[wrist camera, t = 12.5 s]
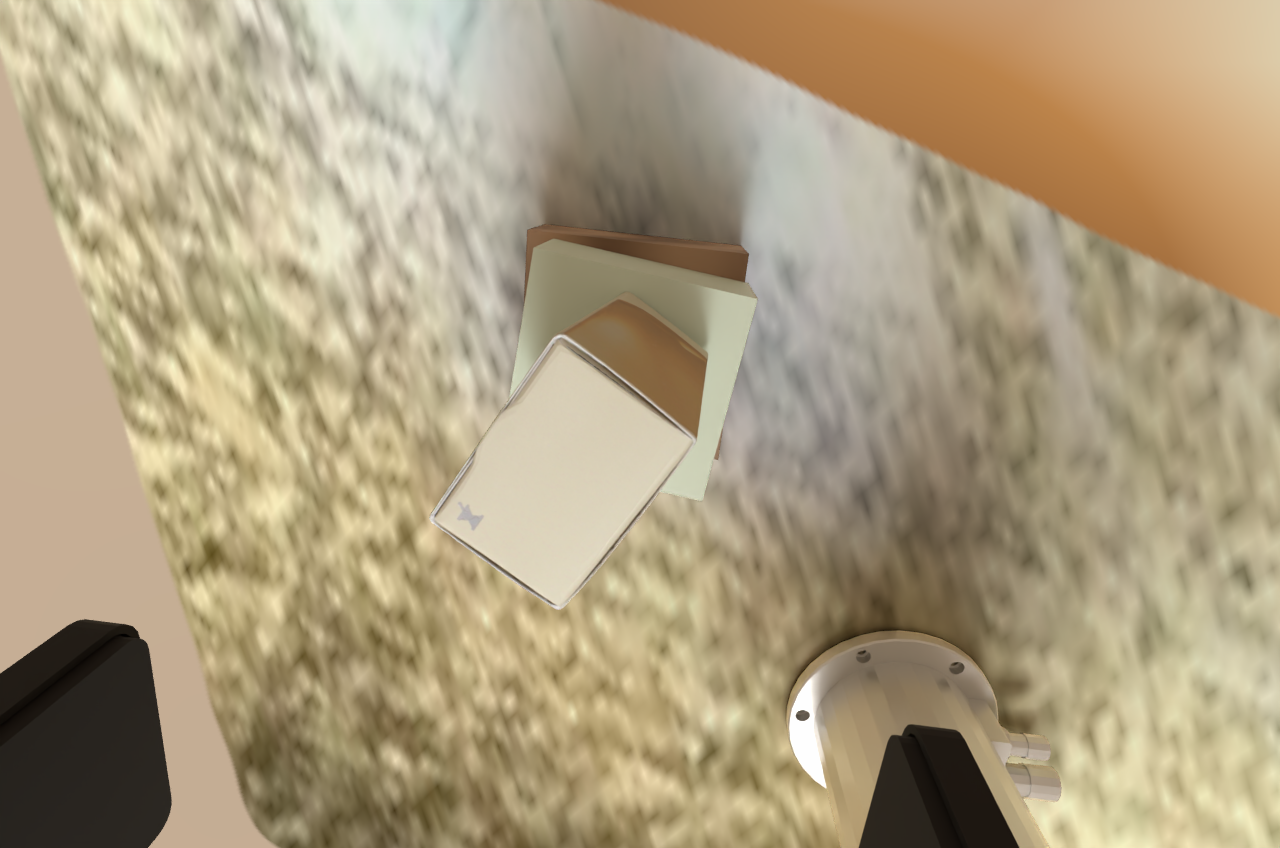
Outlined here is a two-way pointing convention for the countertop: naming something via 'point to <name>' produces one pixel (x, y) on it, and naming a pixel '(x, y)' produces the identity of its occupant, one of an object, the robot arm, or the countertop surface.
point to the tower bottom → (649, 252)
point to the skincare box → (579, 449)
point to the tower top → (689, 299)
